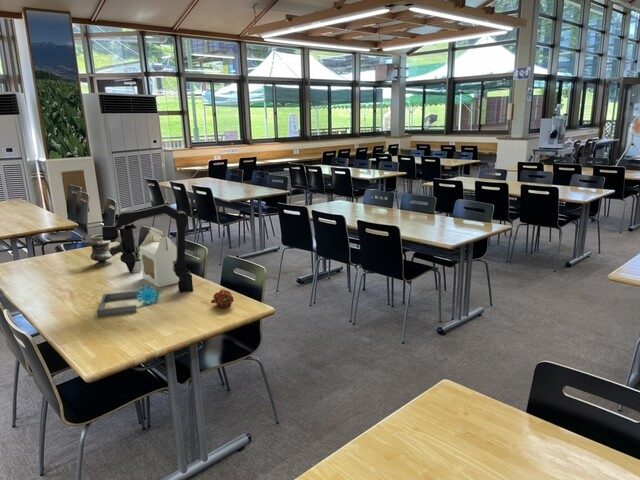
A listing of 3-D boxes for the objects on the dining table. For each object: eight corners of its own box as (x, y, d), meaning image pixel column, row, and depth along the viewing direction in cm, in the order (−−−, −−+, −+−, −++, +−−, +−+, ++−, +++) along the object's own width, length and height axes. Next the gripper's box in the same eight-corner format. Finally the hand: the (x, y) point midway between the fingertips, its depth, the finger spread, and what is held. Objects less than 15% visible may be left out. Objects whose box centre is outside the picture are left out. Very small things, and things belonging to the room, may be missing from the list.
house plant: (157, 269, 268) (154, 242, 264) (136, 275, 257) (133, 247, 253) (141, 266, 276) (138, 239, 272) (120, 272, 264) (117, 244, 260)
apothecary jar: (107, 267, 274) (104, 237, 270) (87, 267, 275) (83, 238, 270) (116, 261, 286) (113, 233, 282) (97, 261, 286) (93, 233, 282)
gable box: (142, 277, 254) (136, 227, 247) (165, 272, 262) (161, 224, 255) (158, 287, 237) (153, 234, 231) (183, 281, 245) (178, 230, 239)
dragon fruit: (230, 314, 205) (215, 311, 214) (241, 298, 209) (226, 296, 218) (218, 302, 201) (204, 299, 209) (230, 286, 205) (215, 284, 213)
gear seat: (139, 296, 225) (138, 290, 224) (136, 312, 205) (135, 305, 204) (104, 300, 220) (103, 294, 220) (97, 317, 201) (96, 310, 200)
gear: (138, 304, 209) (135, 285, 214) (135, 310, 213) (132, 291, 218) (163, 302, 216) (159, 283, 220) (160, 308, 220) (156, 290, 224)
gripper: (111, 235, 223) (116, 266, 227) (105, 244, 206) (111, 278, 210) (136, 233, 226) (140, 264, 230) (132, 242, 209) (137, 275, 213)
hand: (132, 270), depth 221 cm, fingers open, 9 cm apart
